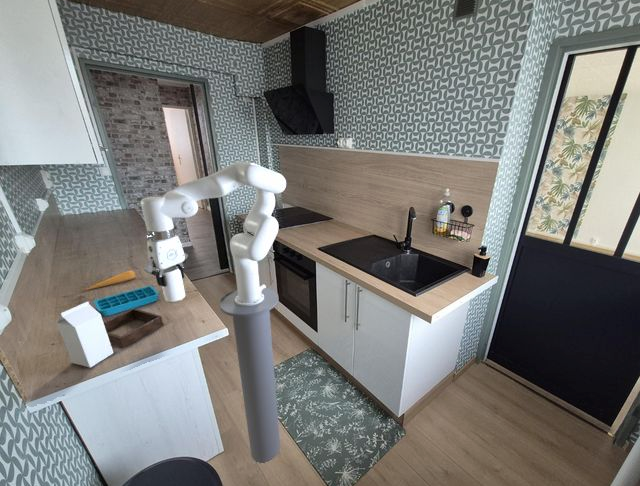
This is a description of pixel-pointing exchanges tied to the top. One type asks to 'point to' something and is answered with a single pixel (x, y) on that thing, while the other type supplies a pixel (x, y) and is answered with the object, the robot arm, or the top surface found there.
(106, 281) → the carrot
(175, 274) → the can
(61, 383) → the top surface
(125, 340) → the crate
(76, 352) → the milk carton
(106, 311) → the ice cube tray
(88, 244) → the top surface
